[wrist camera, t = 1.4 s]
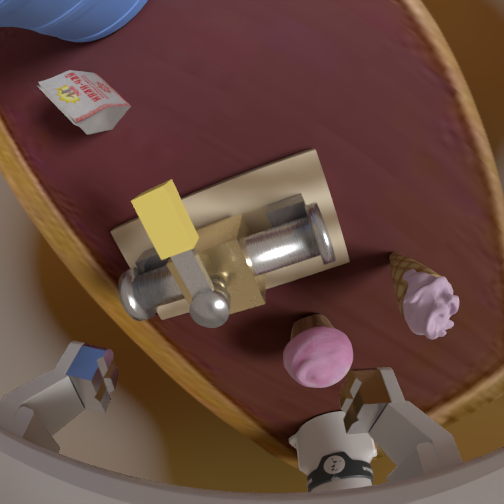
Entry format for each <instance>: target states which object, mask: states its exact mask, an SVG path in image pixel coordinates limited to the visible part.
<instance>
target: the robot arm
mask: <svg viewBox="0 0 504 504" xmlns="http://www.w3.org/2000/svg"><path fill="white" fill-rule="evenodd" d="M113 357H114V356H113V353H112V350H111V349H108V348H103V347H99V346H95V345H90V344H86V343H82V342H77V341H73V342H71V343H70V344H69V346H68V347H67V349H66V351H65V352H64V354H63V356H62V357H61V359H60V360H59V362H58V364H57V365H56V367H55V368H54V370H53V371H51V370H50V371H47V372H46V373H44V374H42V375H40V376H38V377H37V378H35V379H33V380H31V381H29V382H28V383H26V384H24V385H22V386H20V387H19V388H17V389H15V390H13V391H11V392H9V393H8V394H6V395H4V396H3V398H2V399H1V401H0V504H504V447H502V448H500V449H497V450H495V451H493V452H490V453H488V454H485V455H483V456H480V457H477V458H475V459H472V460H469V461H466V462H462V459H461V456H460V454H459V451H458V448H457V446H456V443H455V441H454V439H453V436H452V435H451V434H450V433H449V432H447V431H446V430H445V429H444V428H442V427H441V426H440V425H439V424H437V423H436V422H435V421H433V420H432V419H431V418H430V417H428V416H427V415H426V414H425V413H423V412H422V411H421V410H419V409H418V408H417V407H416V406H414V405H413V404H412V403H411V402H409V401H405V399H404V397H403V394H402V392H401V389H400V387H399V384H398V382H397V379H396V377H395V375H394V372H393V370H392V369H391V368H390V367H386V368H363V369H350V370H349V372H348V374H347V380H348V381H347V382H346V383H344V384H343V386H342V388H341V391H340V406H341V410H342V411H338V412H331V413H327V414H323V415H320V416H318V417H315V418H313V419H311V420H309V421H308V422H306V423H305V424H304V425H302V426H301V428H300V429H299V431H298V432H297V433H296V434H294V435H292V436H291V437H290V438H289V444H291V445H292V446H293V447H294V448H296V449H297V455H298V464H299V470H300V471H302V472H303V473H305V474H306V475H307V488H308V492H307V493H244V492H228V491H216V490H207V489H198V488H191V487H184V486H177V485H171V484H165V483H160V482H155V481H150V480H145V479H141V478H137V477H132V476H128V475H125V474H121V473H117V472H113V471H109V470H106V469H103V468H99V467H96V466H93V465H90V464H87V463H84V462H81V461H78V460H75V459H72V458H69V457H67V456H64V455H61V454H59V450H60V447H59V445H58V444H57V443H56V441H55V440H54V439H53V437H52V436H53V435H54V434H55V433H56V432H58V431H59V430H60V429H61V428H62V427H64V426H65V425H66V424H67V423H69V422H70V421H71V420H72V419H74V418H75V417H76V416H77V415H78V414H80V413H81V412H82V411H83V410H84V408H86V409H90V410H94V411H98V412H102V413H105V412H106V410H107V407H108V405H109V403H110V400H111V398H110V395H109V393H111V392H112V391H114V389H115V387H116V385H117V380H118V369H117V366H116V364H114V362H113V361H112V359H113ZM374 441H375V442H376V443H377V444H378V445H379V447H380V448H381V449H382V450H383V451H384V452H385V453H386V454H387V455H388V456H389V458H390V459H391V460H392V461H393V462H394V463H395V464H396V465H397V467H396V468H395V469H394V470H393V471H392V472H391V473H390V474H389V475H388V476H387V482H388V483H384V484H378V485H372V482H373V472H372V469H371V465H370V462H371V460H372V458H373V457H376V456H377V450H376V447H375V445H374Z"/></svg>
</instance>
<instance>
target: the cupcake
mask: <svg viewBox="0 0 504 504" xmlns="http://www.w3.org/2000/svg"><path fill="white" fill-rule="evenodd" d="M352 360H353V350H352V345H351V342H350V341H349V339H348V337H347V336H346V335H345V334H344V333H343V332H341V331H339V330H337V329H335V328H334V327H333V326H332V325H331V323H330V322H329V320H328V319H327V318H326V317H325V316H324V315H322V314H314V315H311V316H308V317H305V318H302V319H300V320H298V321H296V322H294V324H293V327H292V332H291V339H290V342H289V343H288V344H287V345H286V347H285V349H284V352H283V363H284V367H285V369H286V370H287V371H288V373H289V374H290V375H291V377H292V378H293V379H294V380H296V381H297V382H298V383H300V384H301V385H304V386H307V387H314V388H323V387H328V386H331V385H333V384H335V383H337V382H339V381H340V380H341V379H342V378H343V377H344V376H345V375H346V373H347V372H348V370H349V369H350V366H351V364H352Z"/></svg>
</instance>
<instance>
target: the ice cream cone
mask: <svg viewBox="0 0 504 504" xmlns="http://www.w3.org/2000/svg"><path fill="white" fill-rule="evenodd" d="M389 259H390V266H391V273H392V279H393V285H394V290H395V295H396V298H397V302H398V306H399V309H400V312H401V314H402V316H403V317H404V318H405V320H406V322H407V324H408V325H409V328H410V330H411V331H412V332H413V333H415V334H417V335H425V336H426V337H427V338H428V339H432V340H433V339H436V338H437V337H442V336H444V335H446V334H447V333H446V331H445V330H446V329H449V328H451V327H452V326H453V325H454V322H453V321H451V320H449V318H450V316H451V315H452V314H455V313H456V312H457V311H458V307H459V298H458V296H455V295H453V289H452V287H451V285H450V283H449V282H448V281H447V279H446V278H445V277H441V276H440V275H438V274H437V273H435V272H434V271H433V270H431V269H430V268H428V267H426V266H425V265H423V264H421V263H419V262H417V261H415V260H413V259H411V258H409V257H406V256H404V255H402V254H399V253H397V252H393V253H391V255H390V257H389Z"/></svg>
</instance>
